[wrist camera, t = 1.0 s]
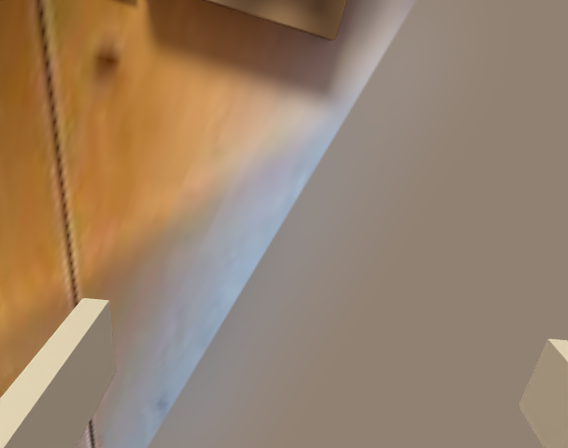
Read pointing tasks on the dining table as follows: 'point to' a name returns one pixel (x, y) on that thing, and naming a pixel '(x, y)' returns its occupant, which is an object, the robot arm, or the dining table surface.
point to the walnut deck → (294, 13)
